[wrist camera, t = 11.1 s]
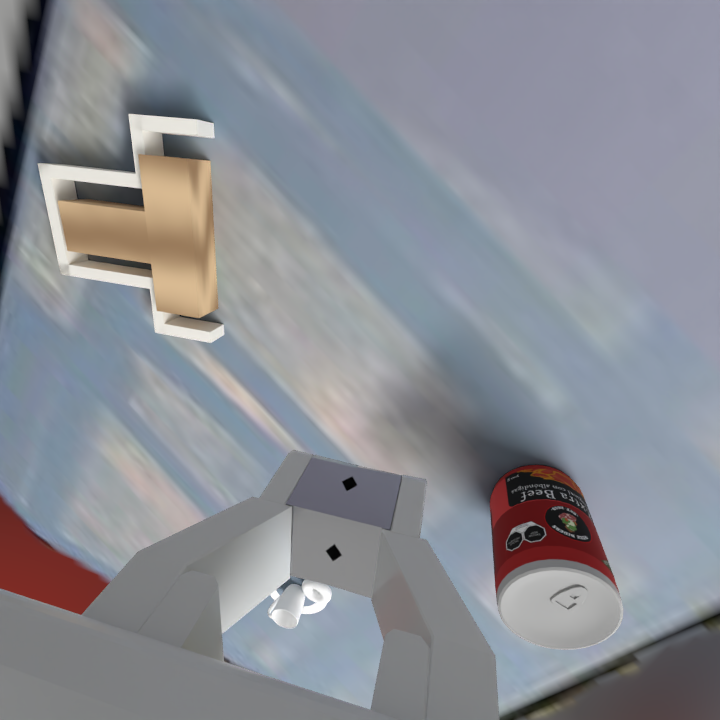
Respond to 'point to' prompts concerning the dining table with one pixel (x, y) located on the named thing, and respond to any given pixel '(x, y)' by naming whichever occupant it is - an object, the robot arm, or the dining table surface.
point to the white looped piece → (298, 602)
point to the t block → (157, 232)
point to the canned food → (550, 562)
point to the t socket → (144, 142)
